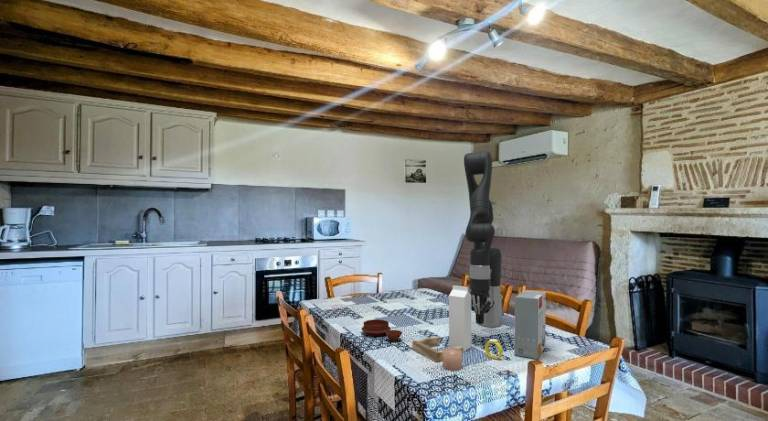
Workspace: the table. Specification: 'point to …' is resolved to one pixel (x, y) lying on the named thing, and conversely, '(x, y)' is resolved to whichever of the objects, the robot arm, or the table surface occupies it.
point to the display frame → (425, 348)
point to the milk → (460, 318)
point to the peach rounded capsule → (452, 359)
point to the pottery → (381, 329)
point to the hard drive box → (530, 323)
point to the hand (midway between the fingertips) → (479, 323)
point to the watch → (497, 346)
